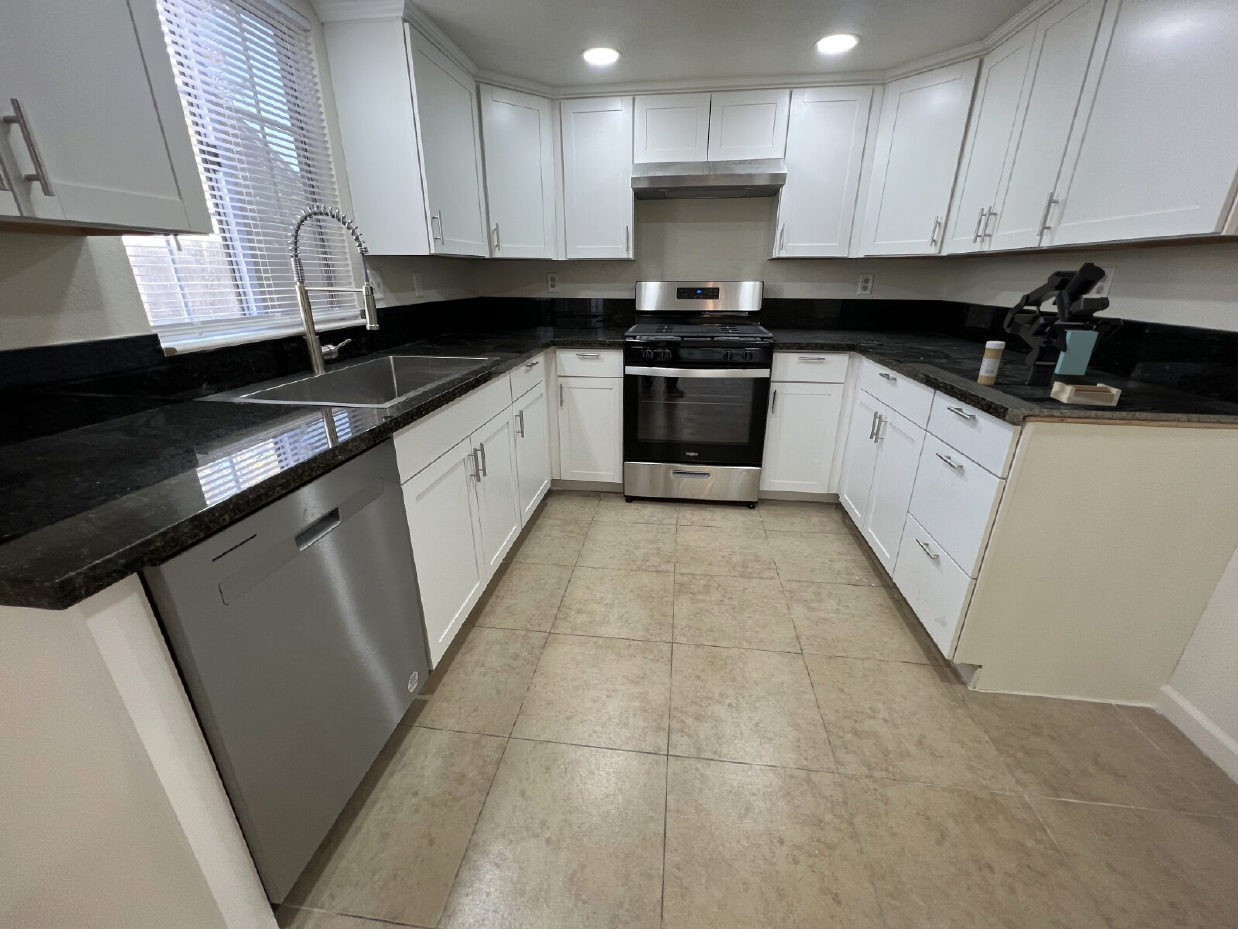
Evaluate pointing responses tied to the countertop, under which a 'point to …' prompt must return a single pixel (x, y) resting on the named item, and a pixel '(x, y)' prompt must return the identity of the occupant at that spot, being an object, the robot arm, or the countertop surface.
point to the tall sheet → (1076, 352)
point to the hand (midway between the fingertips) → (1079, 351)
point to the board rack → (1085, 395)
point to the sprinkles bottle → (990, 362)
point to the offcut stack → (1090, 388)
